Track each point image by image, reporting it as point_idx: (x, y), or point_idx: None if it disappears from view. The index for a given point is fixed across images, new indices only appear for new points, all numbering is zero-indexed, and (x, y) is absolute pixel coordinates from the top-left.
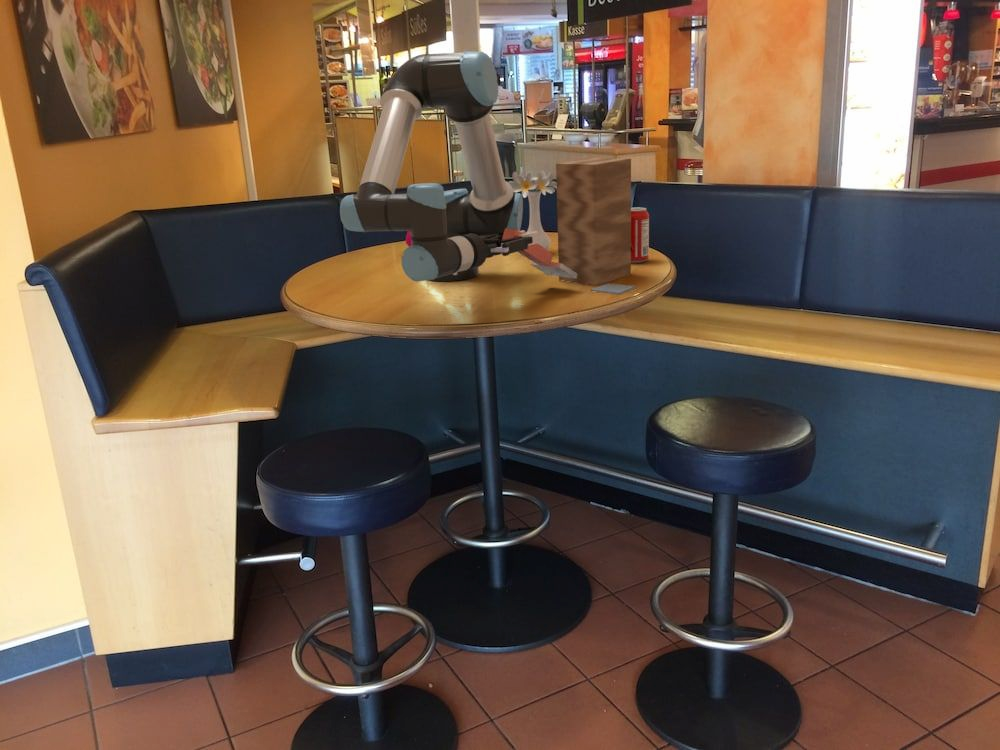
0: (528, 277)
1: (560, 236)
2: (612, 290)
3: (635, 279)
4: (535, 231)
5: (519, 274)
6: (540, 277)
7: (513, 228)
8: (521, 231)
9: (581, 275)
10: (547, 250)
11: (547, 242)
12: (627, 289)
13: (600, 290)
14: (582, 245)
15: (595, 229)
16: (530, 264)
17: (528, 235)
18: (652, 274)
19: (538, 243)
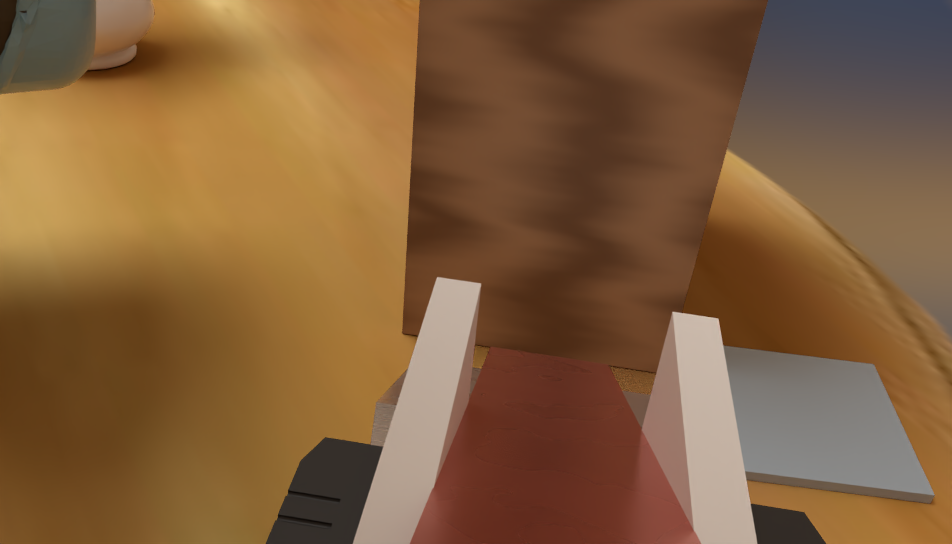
0: (189, 311)
1: (435, 94)
2: (855, 459)
3: (742, 263)
4: (674, 314)
5: (111, 275)
6: (262, 301)
7: (68, 45)
8: (470, 333)
9: (566, 320)
10: (616, 383)
11: (146, 11)
12: (899, 422)
13: (796, 475)
14: (608, 162)
15: (740, 69)
16: (372, 443)
17: (742, 503)
18: (740, 202)
19: (109, 20)
